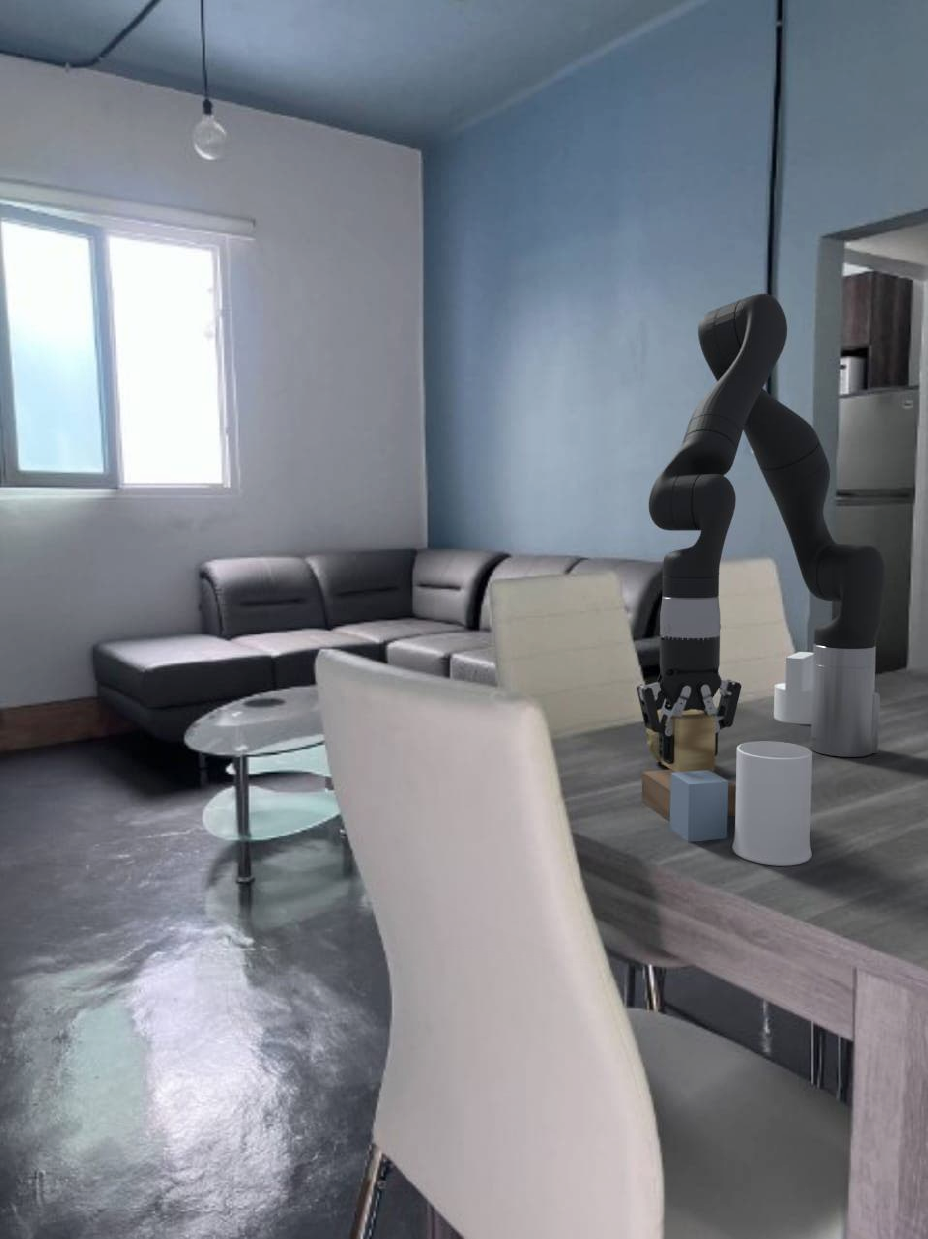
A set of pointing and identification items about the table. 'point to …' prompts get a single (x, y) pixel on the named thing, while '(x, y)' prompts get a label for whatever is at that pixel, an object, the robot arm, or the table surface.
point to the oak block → (693, 743)
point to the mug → (773, 803)
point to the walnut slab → (659, 792)
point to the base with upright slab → (795, 690)
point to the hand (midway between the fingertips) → (688, 760)
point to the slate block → (698, 805)
